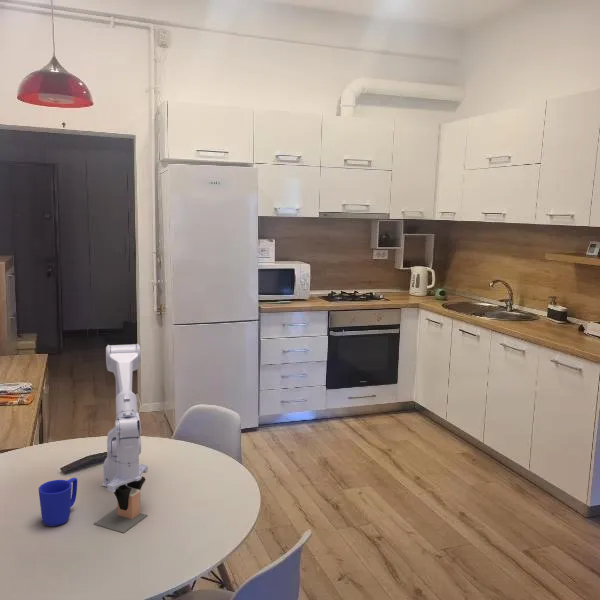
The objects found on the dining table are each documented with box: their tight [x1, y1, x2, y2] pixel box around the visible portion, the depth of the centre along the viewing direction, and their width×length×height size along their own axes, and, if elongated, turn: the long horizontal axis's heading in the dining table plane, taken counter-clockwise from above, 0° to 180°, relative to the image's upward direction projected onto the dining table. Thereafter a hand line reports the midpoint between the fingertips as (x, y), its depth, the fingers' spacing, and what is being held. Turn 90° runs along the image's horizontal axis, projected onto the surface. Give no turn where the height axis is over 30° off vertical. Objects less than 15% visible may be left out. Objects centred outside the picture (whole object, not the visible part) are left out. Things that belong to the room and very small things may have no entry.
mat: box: [93, 507, 148, 534], centre depth 160 cm, size 10×10×1 cm
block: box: [116, 487, 141, 519], centre depth 162 cm, size 5×4×7 cm
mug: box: [38, 477, 78, 527], centre depth 159 cm, size 8×12×10 cm
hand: (128, 505), depth 162 cm, fingers closed on block, 3 cm apart
